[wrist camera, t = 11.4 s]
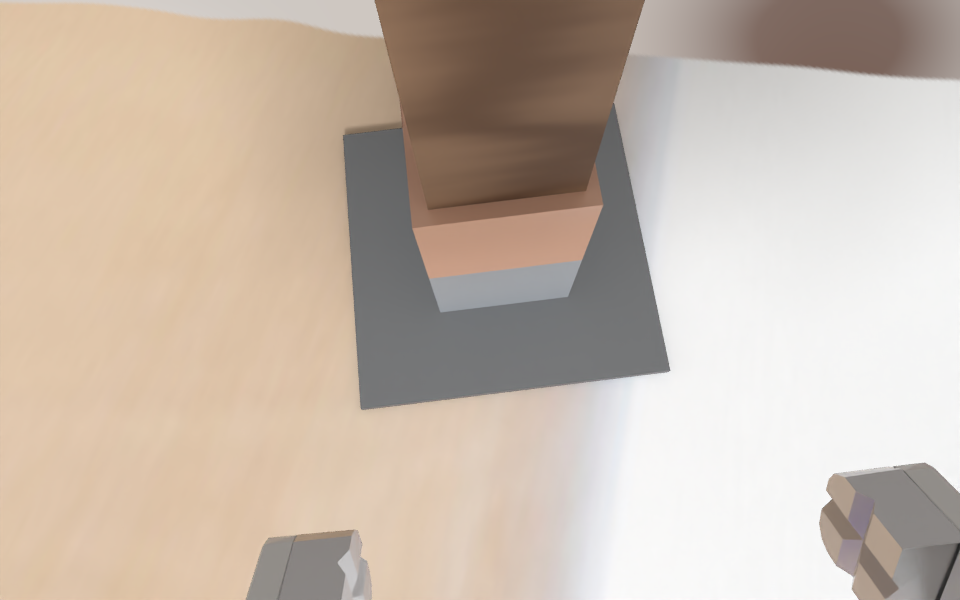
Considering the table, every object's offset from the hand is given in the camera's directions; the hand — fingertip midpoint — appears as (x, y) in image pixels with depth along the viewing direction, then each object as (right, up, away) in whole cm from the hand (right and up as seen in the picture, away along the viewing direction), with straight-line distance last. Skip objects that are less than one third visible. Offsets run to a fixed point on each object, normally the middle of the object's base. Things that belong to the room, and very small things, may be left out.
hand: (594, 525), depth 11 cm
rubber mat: (-1, +6, +19) cm, 20 cm away
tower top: (-1, +8, +14) cm, 16 cm away
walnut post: (-1, +9, +9) cm, 13 cm away
